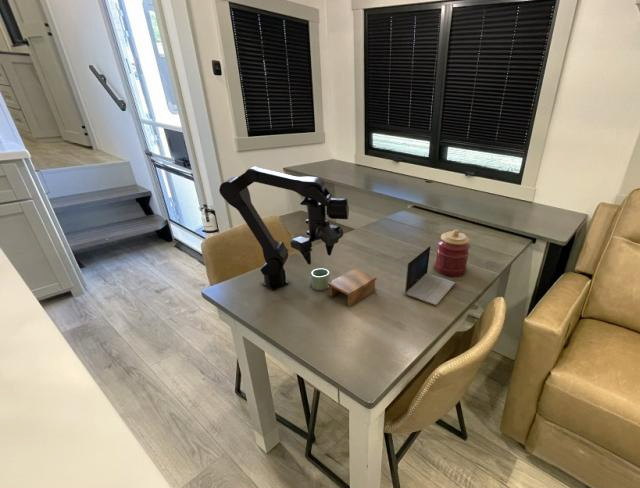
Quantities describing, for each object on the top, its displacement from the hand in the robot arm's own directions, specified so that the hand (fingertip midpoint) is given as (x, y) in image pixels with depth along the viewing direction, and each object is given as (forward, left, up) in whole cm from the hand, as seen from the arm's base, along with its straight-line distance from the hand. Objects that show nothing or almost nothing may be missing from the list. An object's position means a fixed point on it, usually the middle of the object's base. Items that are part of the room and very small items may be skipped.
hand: (319, 259), depth 115 cm
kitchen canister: (+44, -30, -11) cm, 54 cm away
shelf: (+4, -12, -11) cm, 17 cm away
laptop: (+25, -32, -11) cm, 42 cm away
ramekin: (0, 0, -11) cm, 11 cm away
